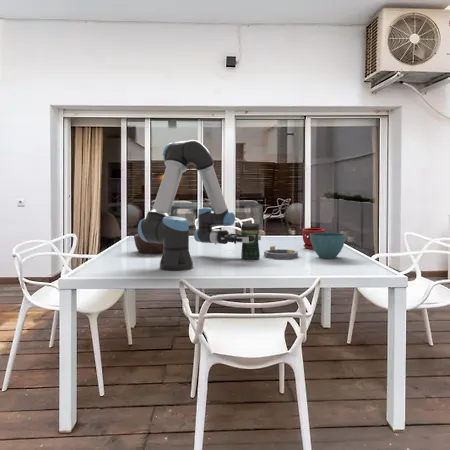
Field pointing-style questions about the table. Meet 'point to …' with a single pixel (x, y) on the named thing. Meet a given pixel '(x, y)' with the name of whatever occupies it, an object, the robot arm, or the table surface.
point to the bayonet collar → (280, 253)
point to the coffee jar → (250, 241)
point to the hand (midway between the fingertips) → (254, 238)
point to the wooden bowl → (147, 246)
